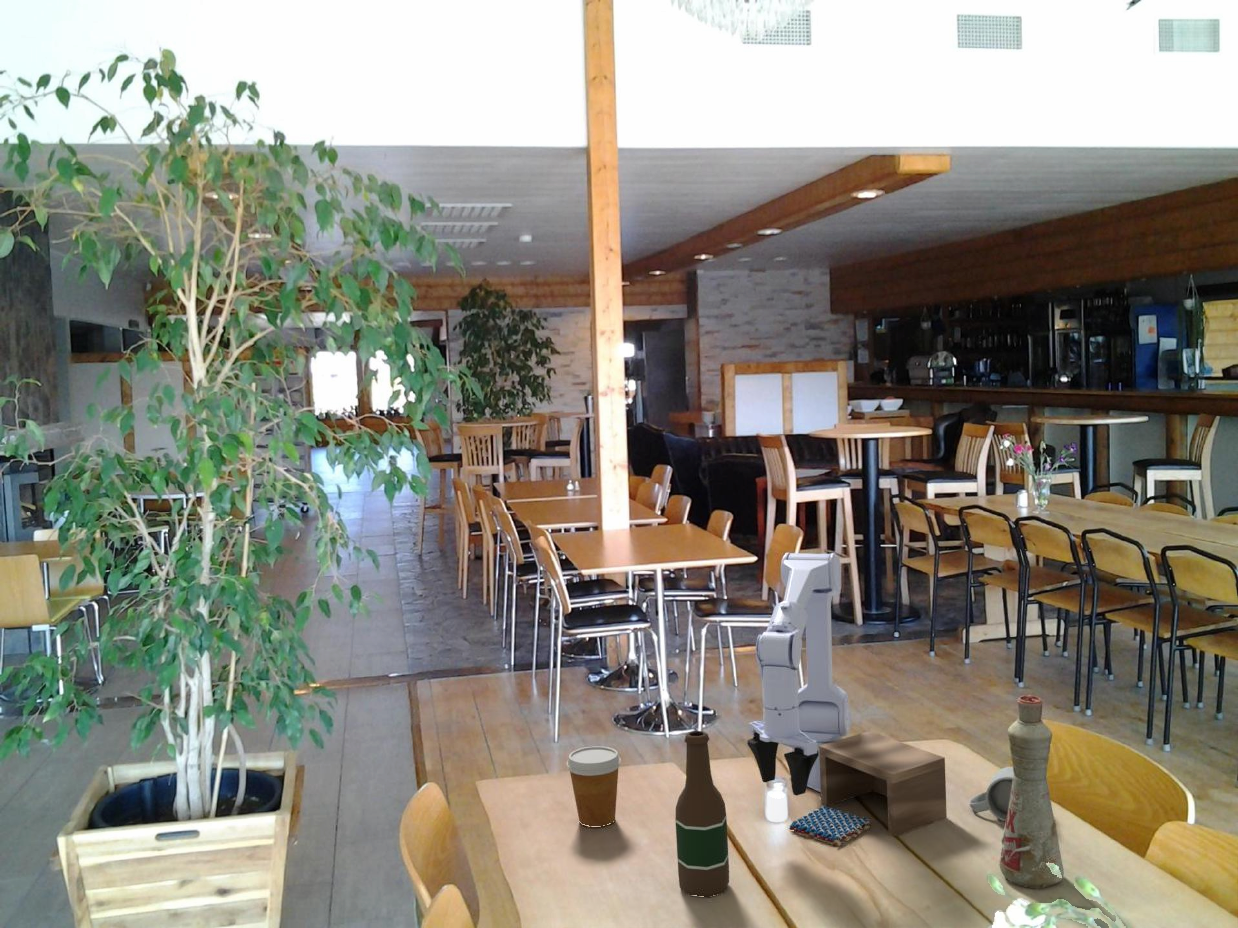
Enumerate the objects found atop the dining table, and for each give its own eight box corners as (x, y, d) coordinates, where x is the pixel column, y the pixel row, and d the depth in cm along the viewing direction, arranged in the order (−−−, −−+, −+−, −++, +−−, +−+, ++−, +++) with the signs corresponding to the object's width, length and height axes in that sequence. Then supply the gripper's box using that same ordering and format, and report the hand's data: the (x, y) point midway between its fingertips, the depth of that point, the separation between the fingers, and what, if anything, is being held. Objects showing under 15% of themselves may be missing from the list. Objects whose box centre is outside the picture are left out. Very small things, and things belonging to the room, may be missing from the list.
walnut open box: (821, 803, 204) (819, 745, 203) (871, 786, 211) (869, 731, 210) (895, 836, 189) (893, 774, 188) (946, 817, 195) (944, 757, 194)
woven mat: (874, 829, 194) (874, 817, 193) (838, 850, 186) (837, 838, 186) (823, 813, 201) (822, 802, 201) (786, 833, 194) (785, 822, 193)
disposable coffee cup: (561, 828, 200) (557, 761, 199) (583, 807, 209) (579, 743, 207) (612, 834, 196) (608, 766, 195) (632, 812, 205) (628, 747, 204)
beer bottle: (675, 877, 179) (667, 727, 176) (725, 873, 179) (717, 723, 177) (682, 901, 171) (674, 744, 169) (734, 896, 172) (726, 739, 169)
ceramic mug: (1036, 805, 198) (1034, 762, 197) (1034, 824, 190) (1032, 779, 190) (972, 801, 202) (970, 758, 201) (967, 819, 195) (965, 775, 194)
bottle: (1057, 896, 166) (1053, 706, 163) (993, 883, 171) (988, 699, 168) (1069, 871, 173) (1065, 690, 171) (1007, 860, 178) (1003, 683, 176)
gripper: (733, 700, 190) (736, 780, 191) (791, 720, 178) (794, 805, 179) (766, 692, 194) (769, 770, 195) (825, 711, 182) (828, 794, 183)
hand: (783, 786), depth 187 cm, fingers open, 7 cm apart
